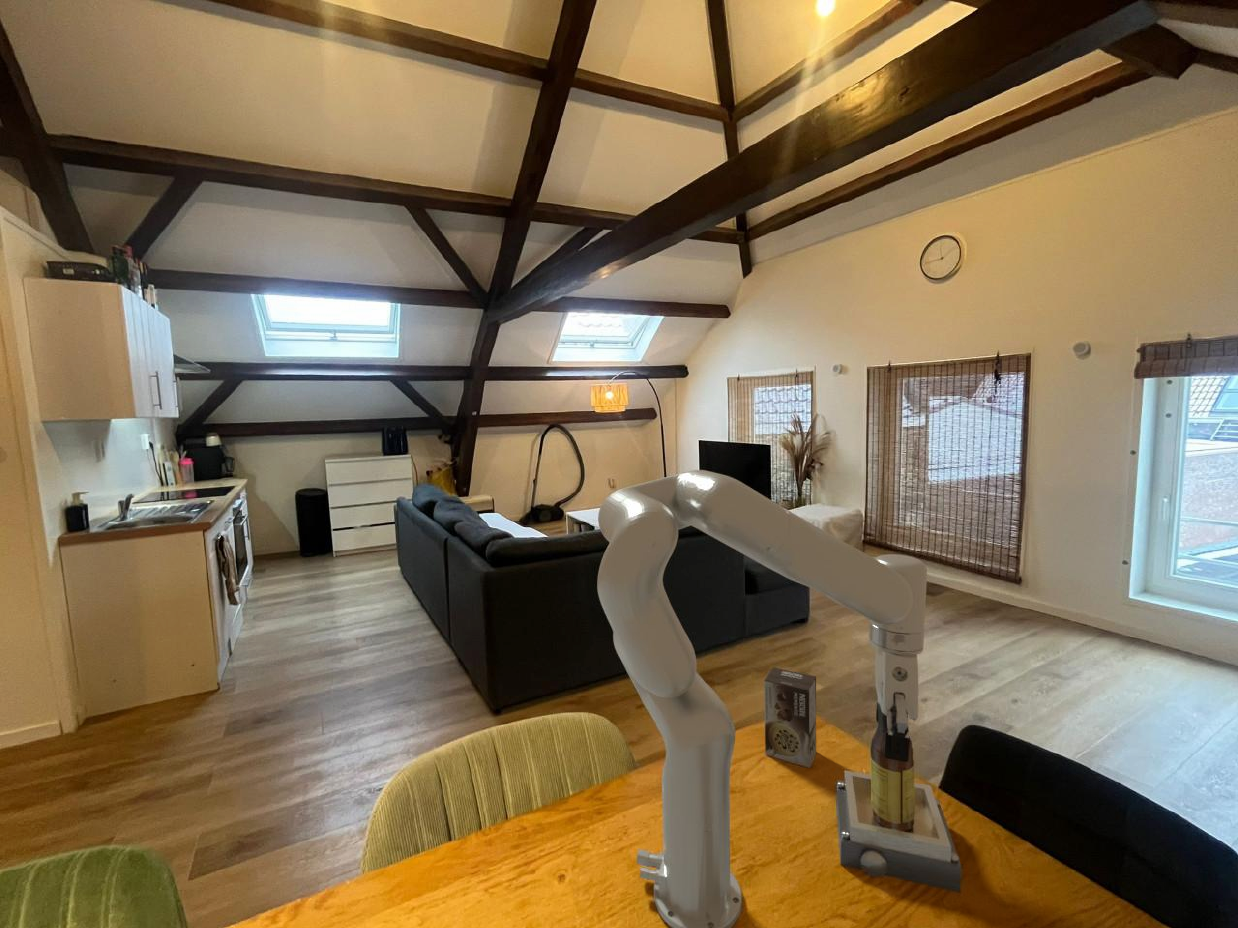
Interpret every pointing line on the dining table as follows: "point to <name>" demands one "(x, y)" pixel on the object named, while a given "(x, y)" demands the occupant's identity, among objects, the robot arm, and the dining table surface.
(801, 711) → the coffee box
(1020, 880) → the dining table surface
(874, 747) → the sauce bottle
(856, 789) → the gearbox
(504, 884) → the dining table surface
